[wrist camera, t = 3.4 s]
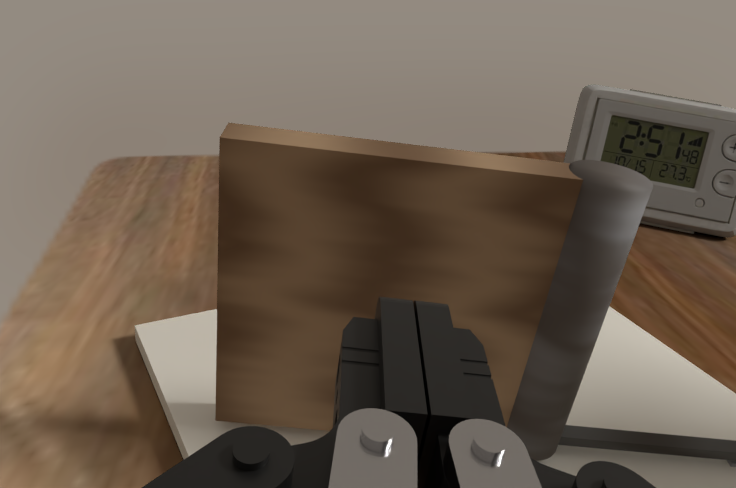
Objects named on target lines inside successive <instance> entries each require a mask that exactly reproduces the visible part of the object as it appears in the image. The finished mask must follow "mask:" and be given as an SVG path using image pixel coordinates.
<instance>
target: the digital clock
mask: <svg viewBox="0 0 736 488" xmlns="http://www.w3.org/2000/svg"><path fill="white" fill-rule="evenodd" d="M578 160H596V161H603V162H608V163H613V164H617V165H620V166H623V167H626V168H629V169H632V170H634V171H636V172H638V173H640V174H642V175H644V176H645V177H647V178H648V179H649V180H650V181H651V182H652V184H653V188H652V191H651V194H650V197H649V199H648V202H647V205H646V207H645V210H644V213H643V216H642V218H641V221H640V223H642V224H647V225H652V226H657V227H662V228H667V229H672V230H677V231H682V232H687V233H692V234H694V231H695V232H700V233H705V234H710V235H715V236H720V237H733V236H735V235H736V109H733V108H727V107H722V106H721V105H717V104H712V103H706V102H700V101H694V100H689V99H683V98H677V97H671V96H665V95H660V94H654V93H648V92H643V91H637V90H624V89H618V88H612V87H607V86H601V85H588V86H585V87H584V88H583V90H582V92H581V94H580V97H579V101H578V104H577V108H576V112H575V117H574V121H573V125H572V129H571V133H570V138H569V142H568V146H567V150H566V155H565V159H564V163H572V162H574V161H578Z"/></svg>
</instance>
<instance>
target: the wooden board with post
mask: <svg viewBox="0 0 736 488" xmlns="http://www.w3.org/2000/svg"><path fill="white" fill-rule="evenodd" d="M652 188H653V184H652V182H651V181H650V180H649V179H648V178H647V177H645V176H644V175H642V174H640V173H638V172H636V171H634V170H632V169H629V168H626V167H623V166H620V165H617V164H613V163H608V162H603V161H596V160H578V161H574V162H572V163H563V162H554V161H546V160H537V159H529V158H521V157H512V156H504V155H495V154H487V153H479V152H470V151H461V150H453V149H444V148H437V147H428V146H420V145H411V144H402V143H395V142H386V141H378V140H369V139H361V138H352V137H344V136H335V135H327V134H318V133H310V132H302V131H293V130H284V129H276V128H268V127H260V126H252V125H243V124H235V123H228V125H227V126H226V128H225V130H224V131H223V133H222V134H221V136H220V155H219V220H218V285H217V350H216V415H215V421H224V422H236V423H247V424H258V425H269V426H280V427H292V428H303V429H314V430H325V431H330V430H331V429H332V428H333V413H334V395H335V382H336V375H337V368H338V362H339V355H340V348H341V341H342V334H343V329H344V328H345V327H346V326H347V324H348V323H349V322H350V321H351V319H352V318H353V317H360V318H369V319H375V313H376V307H377V302H378V298H379V297H388V298H397V299H406V300H412V301H413V302H414V301H415V300H416V301H424V302H433V303H442V304H448V306H449V310H450V314H451V319H452V324H453V328H461V329H470V330H471V332H472V333H473V334H474V335H475V336H476V337H477V339H478V340H479V341H480V342H481V343H482V344H483V346H484V350H485V354H486V357H487V361H488V365H489V368H490V372H491V375H492V376H491V379H493V382H494V386H495V390H496V393H497V397H498V400H499V404H500V408H501V411H502V415H503V418H504V422H505V426H506V427H507V428H508V429H510V430H511V431H513V432H514V433H515V434H516V435H517V436H518V437H519V438H520V439H521V440H522V442H523V443H524V445H525V447H526V449H527V451H528V454H529V456H530V457H531V458H532V459H534V460H536V461H541V460H545V459H548V458H550V457H551V456H552V455H553V454H554V453H555V452H556V449H557V447H558V445H565V446H577V447H588V448H599V449H610V450H621V451H632V452H643V453H654V454H665V455H677V456H688V457H699V458H710V459H721V460H732V461H736V441H735V440H724V439H713V438H702V437H691V436H680V435H669V434H659V433H648V432H637V431H626V430H615V429H604V428H593V427H583V426H572V425H566V422H567V419H568V417H569V414H570V411H571V409H572V406H573V403H574V400H575V398H576V395H577V392H578V390H579V387H580V384H581V381H582V379H583V376H584V373H585V371H586V368H587V365H588V362H589V360H590V357H591V354H592V352H593V349H594V346H595V343H596V341H597V338H598V335H599V332H600V330H601V327H602V324H603V322H604V319H605V316H606V313H607V311H608V308H609V305H610V303H611V300H612V297H613V294H614V292H615V289H616V286H617V284H618V281H619V278H620V275H621V273H622V270H623V267H624V265H625V262H626V259H627V256H628V254H629V251H630V248H631V245H632V243H633V240H634V237H635V235H636V232H637V229H638V226H639V224H640V221H641V218H642V216H643V213H644V210H645V207H646V205H647V202H648V199H649V197H650V194H651V191H652Z"/></svg>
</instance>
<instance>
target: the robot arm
mask: <svg viewBox="0 0 736 488" xmlns="http://www.w3.org/2000/svg"><path fill="white" fill-rule="evenodd" d="M491 376H492V375H491V372H490V368H489V365H488V361H487V357H486V354H485V350H484V346H483V344H482V343H481V342H480V341H479V340H478V339H477V337H476V336H475V335H474V334H473V333H472V332H471V330H470V329H461V328H453V324H452V319H451V314H450V310H449V306H448V304H442V303H433V302H424V301H416V300H415V301H414V302H413V301H412V300H406V299H397V298H388V297H379V298H378V302H377V307H376V313H375V319H369V318H360V317H353V318H352V319H351V321H350V322H349V323H348V324H347V326H346V327H345V328H344V329H343V334H342V341H341V348H340V355H339V362H338V368H337V375H336V382H335V395H334V413H333V428H332V429H331V430H330V432H328V433H327V434H326V435H324V436H323V437H321V438H319V439H317V440H314V441H311V442H307V443H302V444H297V445H290V443H289V442H288V441H287V439H285V438H284V437H283V436H282V435H281V434H279V433H277V432H276V431H273V430H271V429H268V428H264V427H258V426H245V427H239V428H235V429H232V430H229V431H227V432H225V433H224V434H222V435H220V436H219V437H217V438H216V439H214V440H213V441H211V442H210V443H208V444H207V445H205V446H204V447H202V448H201V449H199V450H198V451H196V452H195V453H193V454H192V455H190V456H189V457H187V458H186V459H184V460H183V461H181V462H180V463H178V464H177V465H175V466H174V467H172V468H171V469H169V470H168V471H166V472H165V473H163V474H162V475H160V476H159V477H157V478H156V479H154V480H153V481H151V482H150V483H148V484H147V485H145V486H144V487H142V488H656V487H655V486H653V485H652V484H651V483H649V482H648V481H647V480H645V479H644V478H643V477H641V476H640V475H638V474H637V473H635V472H634V471H632V470H630V469H629V468H627V467H624V466H622V465H619V464H616V463H613V462H607V461H593V462H590V463H587V464H585V465H583V466H582V467H581V468H580V470H579V471H578V473H577V476H574V475H571V474H569V473H566V472H563V471H560V470H557V469H554V468H552V467H549V466H546V465H544V464H541V463H539V462H537V461H536V460H534V459H532V458H531V457H530V456H529V454H528V451H527V449H526V447H525V445H524V443H523V442H522V440H521V439H520V438H519V437H518V436H517V435H516V434H515V433H514V432H513V431H511V430H510V429H508V428H507V427H506V426H505V422H504V418H503V415H502V411H501V408H500V404H499V400H498V397H497V393H496V390H495V386H494V382H493V379H491Z"/></svg>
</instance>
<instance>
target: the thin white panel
mask: <svg viewBox="0 0 736 488" xmlns="http://www.w3.org/2000/svg"><path fill="white" fill-rule="evenodd" d="M135 339H136V343H137V345H138V348H139V350H140V353H141V355H142V358H143V360H144V363H145V365H146V368H147V370H148V373H149V375H150V378H151V380H152V383H153V385H154V388H155V390H156V392H157V395H158V397H159V400H160V402H161V405H162V407H163V410H164V412H165V415H166V417H167V420H168V422H169V425H170V427H171V430H172V432H173V435H174V437H175V440H176V442H177V445H178V447H179V449H180V452H181V454H182V457H183V459H186V458H187V457H189V456H190V455H192V454H193V453H195V452H196V451H198V450H199V449H201V448H202V447H204V446H205V445H207V444H208V443H210V442H211V441H213V440H214V439H216V438H217V437H219V436H220V435H222V434H224V433H225V432H227V431H229V430H232V429H235V428H239V427H245V426H258V427H264V428H268V429H271V430H273V431H276V432H277V433H279V434H281V435H282V436H283V437H284V438H285V439H287V441H288V442H289V443H290V445H297V444H302V443H307V442H311V441H314V440H317V439H319V438H321V437H323V436H324V435H326V434H327V433H328V432H330V431H325V430H314V429H303V428H292V427H280V426H269V425H258V424H247V423H236V422H224V421H215V415H216V350H217V309H215V310H210V311H205V312H200V313H195V314H190V315H185V316H180V317H175V318H170V319H165V320H160V321H155V322H150V323H145V324H140V325H135ZM566 425H572V426H583V427H593V428H604V429H615V430H626V431H637V432H648V433H659V434H669V435H680V436H691V437H702V438H713V439H724V440H735V441H736V394H735V393H734V392H732V391H731V390H729V389H728V388H727V387H725V386H724V385H722V384H721V383H719V382H718V381H716V380H715V379H714V378H712V377H711V376H709V375H708V374H706V373H705V372H703V371H702V370H701V369H699V368H698V367H696V366H695V365H693V364H692V363H690V362H689V361H688V360H686V359H685V358H683V357H682V356H680V355H679V354H677V353H676V352H675V351H673V350H672V349H670V348H669V347H667V346H666V345H664V344H663V343H662V342H660V341H659V340H657V339H656V338H654V337H653V336H651V335H650V334H649V333H647V332H646V331H644V330H643V329H641V328H640V327H638V326H637V325H636V324H634V323H633V322H631V321H630V320H628V319H627V318H625V317H624V316H623V315H621V314H620V313H618V312H617V311H615V310H614V309H612V308H611V307H610V306H609V308H608V311H607V313H606V316H605V319H604V322H603V324H602V327H601V330H600V332H599V335H598V338H597V341H596V343H595V346H594V349H593V352H592V354H591V357H590V360H589V362H588V365H587V368H586V371H585V373H584V376H583V379H582V381H581V384H580V387H579V390H578V392H577V395H576V398H575V400H574V403H573V406H572V409H571V411H570V414H569V417H568V419H567V422H566ZM593 461H607V462H613V463H616V464H619V465H622V466H624V467H627V468H629V469H630V470H632V471H634V472H635V473H637V474H638V475H640V476H641V477H643V478H644V479H645V480H647V481H648V482H649V483H651V484H652V485H653V486H655V487H656V488H736V461H732V460H721V459H710V458H699V457H688V456H677V455H665V454H654V453H643V452H632V451H621V450H610V449H599V448H588V447H577V446H565V445H558V447H557V449H556V452H555V453H554V454H553V455H552V456H551V457H550V458H548V459H545V460H541V461H537V462H539V463H541V464H544V465H546V466H549V467H552V468H554V469H557V470H560V471H563V472H566V473H569V474H571V475H574V476H577V473H578V471H579V470H580V468H581V467H582V466H583V465H585V464H587V463H590V462H593Z"/></svg>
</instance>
